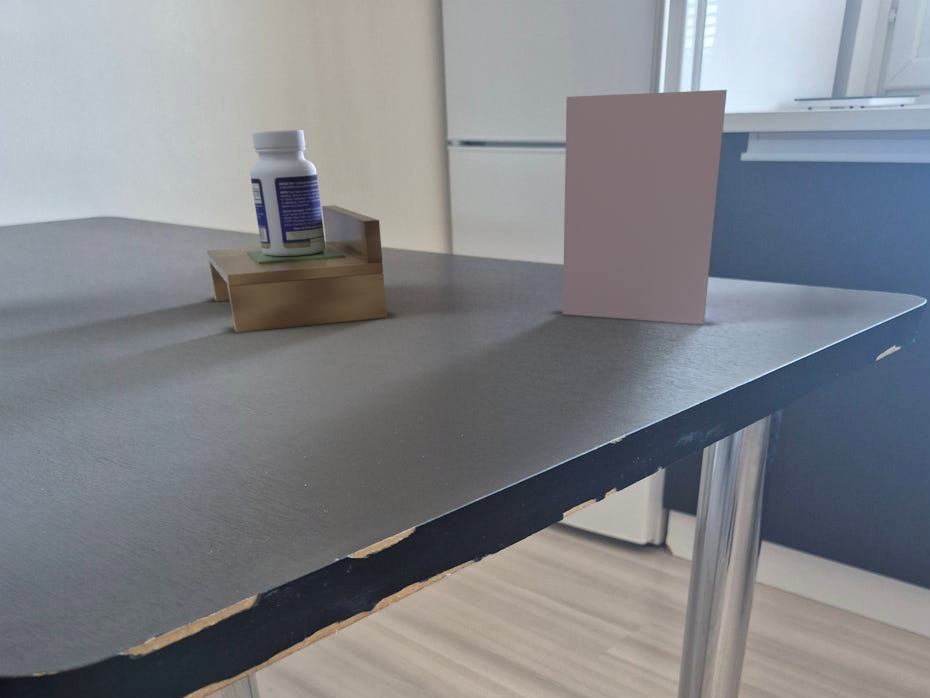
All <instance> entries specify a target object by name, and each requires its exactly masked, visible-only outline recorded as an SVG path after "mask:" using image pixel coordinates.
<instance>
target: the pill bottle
mask: <svg viewBox="0 0 930 698" xmlns="http://www.w3.org/2000/svg"><path fill="white" fill-rule="evenodd" d="M252 140H253V149H254V152H255V153H256V154H257V155H258V161H257V162H255V163H254V164H253V165H252V166H251V168H250V173H249V174H250V181H251V188H252V195H253V202H254V208H255V214H256V221H257V228H258V235H259V240H260V241H259V242H260V247H262V251H263V253H264V254H265V255H269V256H301V255H309V254H316V253H320V252H322V251H324V249H325V242H326V238H325V230H324V221H323V213H322V206H321V198H320V190H319V189H320V188H319V181H318V175H317V174H318V173H317V169H316V167H315V165H314V163H313V162H312V161H310V160H309V159H306V158H305V156H304V151H306V149H307V148H306V142H305V140H306V139H305V134H304V130H303V129H284V130H262V131H253V132H252Z"/></svg>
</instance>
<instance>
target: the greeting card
mask: <svg viewBox="0 0 930 698" xmlns="http://www.w3.org/2000/svg"><path fill="white" fill-rule="evenodd" d="M727 92H728V91H727V89H712V90H690V91H668V92H647V93H645V92H643V93H624V94H602V95H601V94H600V95H577V96H566V109H565V112H566V113H565V114H566V116H565V117H566V118H565V163H564V164H565V165H564V166H565V169H564V171H565V173H564V219H563V221H564V225H563V269H562V270H563V274H562V275H563V276H562V315H568V316H583V317H594V318H595V317H598V318H609V319H610V318H611V319H623V320H624V319H625V320H639V321H650V322H652V321H654V322H666V323H676V324H677V323H680V324H690V325H691V324H692V325H693V324H694V325H704V323H705V318H706V317H705V316H706V315H705V314H706V307H707V306H706V305H707V296H708V287H709V286H708V285H709V275H710V265H711V264H710V263H711V257H712V255H711V253H712V245H713V234H714V223H715V214H716V206H717V205H716V203H717V194H718V185H719V173H720V163H721V154H722V153H721V152H722V143H723V142H722V141H723V132H724V122H725V111H726V102H727Z"/></svg>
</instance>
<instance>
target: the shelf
mask: <svg viewBox="0 0 930 698" xmlns="http://www.w3.org/2000/svg"><path fill="white" fill-rule="evenodd" d="M321 211H322V220H323V229H324V238H325V249H324V251H322V252H320V253H316V254H309V255H301V256H269V255H265V254H264V253H263V251H262V247H261V246H254V247H241V248H239V247H238V248H226V249H212V250H206V255H207V260H208V265H209V271H210V277H211V283H212V290H213V295H214V300H215V301H216V302H227V301H229V304H230V305H229V306H230V309H231V316H232V321H233V322H232V323H233V328H234V331H235V332H236V333H243V332H244V333H245V332H252V331H260V330H261V331H263V330H264V331H265V330H274V329H282V328H293V327H303V326H312V325H322V324H332V323H343V322H344V323H345V322H352V321H362V320H364V321H365V320H374V319H382V318H388V314H387V301H386V288H385V277H384V276H385V275H384V263H383V254H382V253H383V250H382V249H383V248H382V238H381V226H380V225H381V224H380V220H379V219H377V218H374V217H371V216H368V215H365V214H361V213H359V212H356V211H353V210H351V209H347V208H345V207H341V206H337V205H336V204H335V205H334V204H333V205H332V204H331V205H322V206H321Z"/></svg>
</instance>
